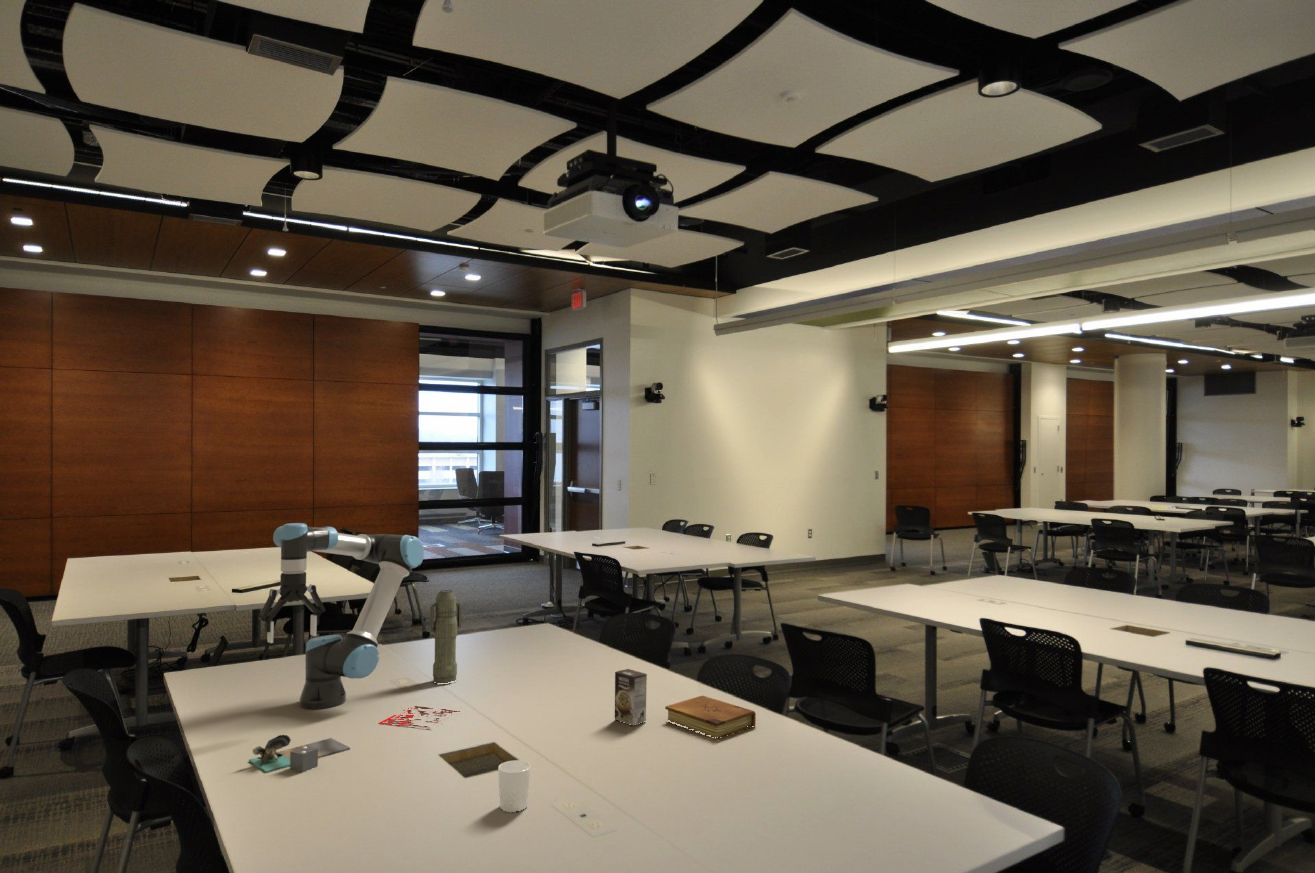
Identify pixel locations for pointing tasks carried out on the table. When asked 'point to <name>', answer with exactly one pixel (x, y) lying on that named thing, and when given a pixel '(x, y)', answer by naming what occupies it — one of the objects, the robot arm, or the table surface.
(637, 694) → the coffee box
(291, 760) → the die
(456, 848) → the table surface
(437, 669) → the thermos
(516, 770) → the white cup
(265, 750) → the dark olive curved figure
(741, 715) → the diary
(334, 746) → the track board
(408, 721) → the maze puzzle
